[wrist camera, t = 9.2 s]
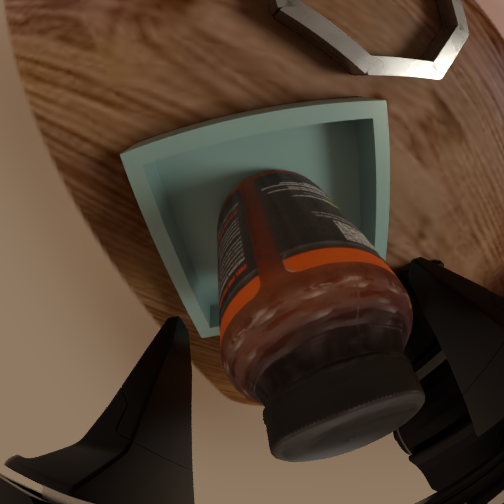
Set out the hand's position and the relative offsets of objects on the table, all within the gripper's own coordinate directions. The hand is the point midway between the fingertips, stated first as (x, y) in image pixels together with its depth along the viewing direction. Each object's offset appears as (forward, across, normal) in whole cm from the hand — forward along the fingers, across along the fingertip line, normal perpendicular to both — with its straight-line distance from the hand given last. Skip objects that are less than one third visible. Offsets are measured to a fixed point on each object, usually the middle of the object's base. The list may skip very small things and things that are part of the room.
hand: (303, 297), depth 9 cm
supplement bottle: (+6, 0, 0) cm, 6 cm away
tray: (+7, 0, 0) cm, 7 cm away
